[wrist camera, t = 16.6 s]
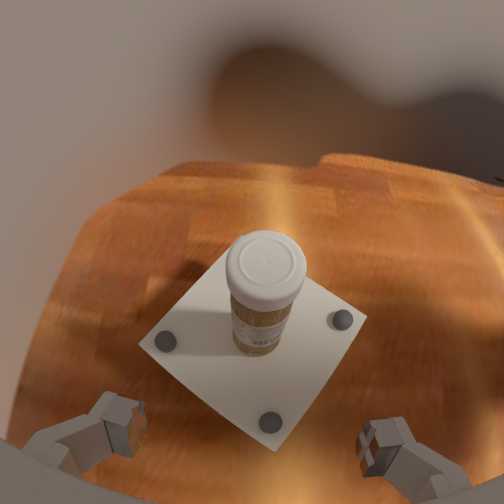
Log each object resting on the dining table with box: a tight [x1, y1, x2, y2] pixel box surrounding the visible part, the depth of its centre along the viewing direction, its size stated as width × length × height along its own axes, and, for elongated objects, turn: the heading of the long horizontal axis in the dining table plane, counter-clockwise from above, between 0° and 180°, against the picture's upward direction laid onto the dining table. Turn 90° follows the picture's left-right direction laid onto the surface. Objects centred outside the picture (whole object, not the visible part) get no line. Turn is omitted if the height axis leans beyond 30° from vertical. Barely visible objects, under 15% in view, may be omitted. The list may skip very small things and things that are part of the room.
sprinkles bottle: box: [225, 230, 307, 357], centre depth 23 cm, size 5×5×13 cm
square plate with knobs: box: [139, 235, 367, 452], centre depth 31 cm, size 16×16×7 cm
